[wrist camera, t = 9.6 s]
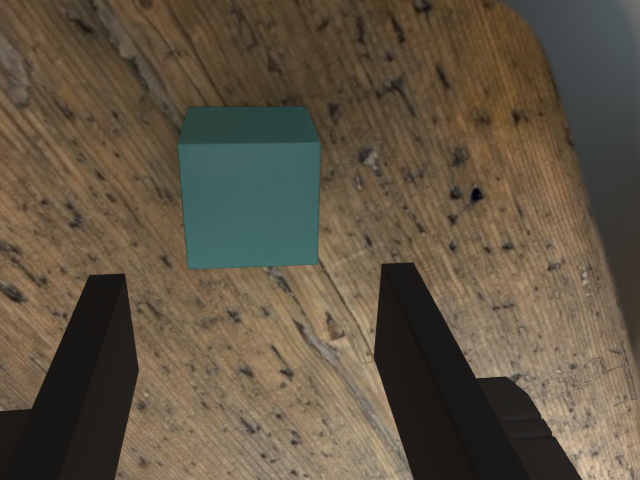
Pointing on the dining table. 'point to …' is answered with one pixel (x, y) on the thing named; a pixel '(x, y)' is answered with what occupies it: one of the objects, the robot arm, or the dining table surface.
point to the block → (249, 186)
